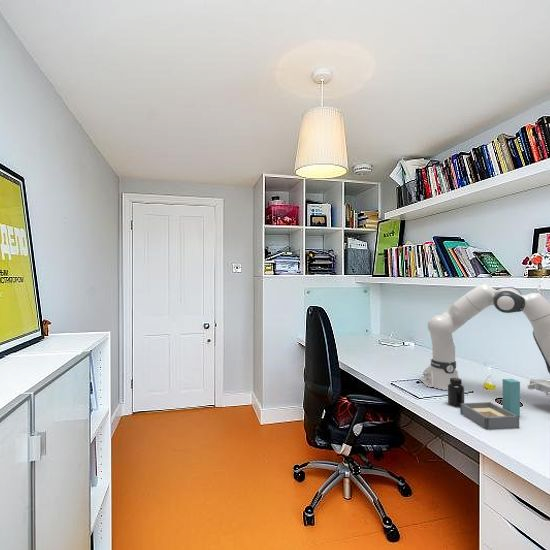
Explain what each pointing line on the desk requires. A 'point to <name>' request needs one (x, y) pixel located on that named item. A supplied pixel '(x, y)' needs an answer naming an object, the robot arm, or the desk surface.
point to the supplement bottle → (455, 392)
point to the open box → (489, 415)
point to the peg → (511, 396)
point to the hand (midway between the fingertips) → (537, 390)
